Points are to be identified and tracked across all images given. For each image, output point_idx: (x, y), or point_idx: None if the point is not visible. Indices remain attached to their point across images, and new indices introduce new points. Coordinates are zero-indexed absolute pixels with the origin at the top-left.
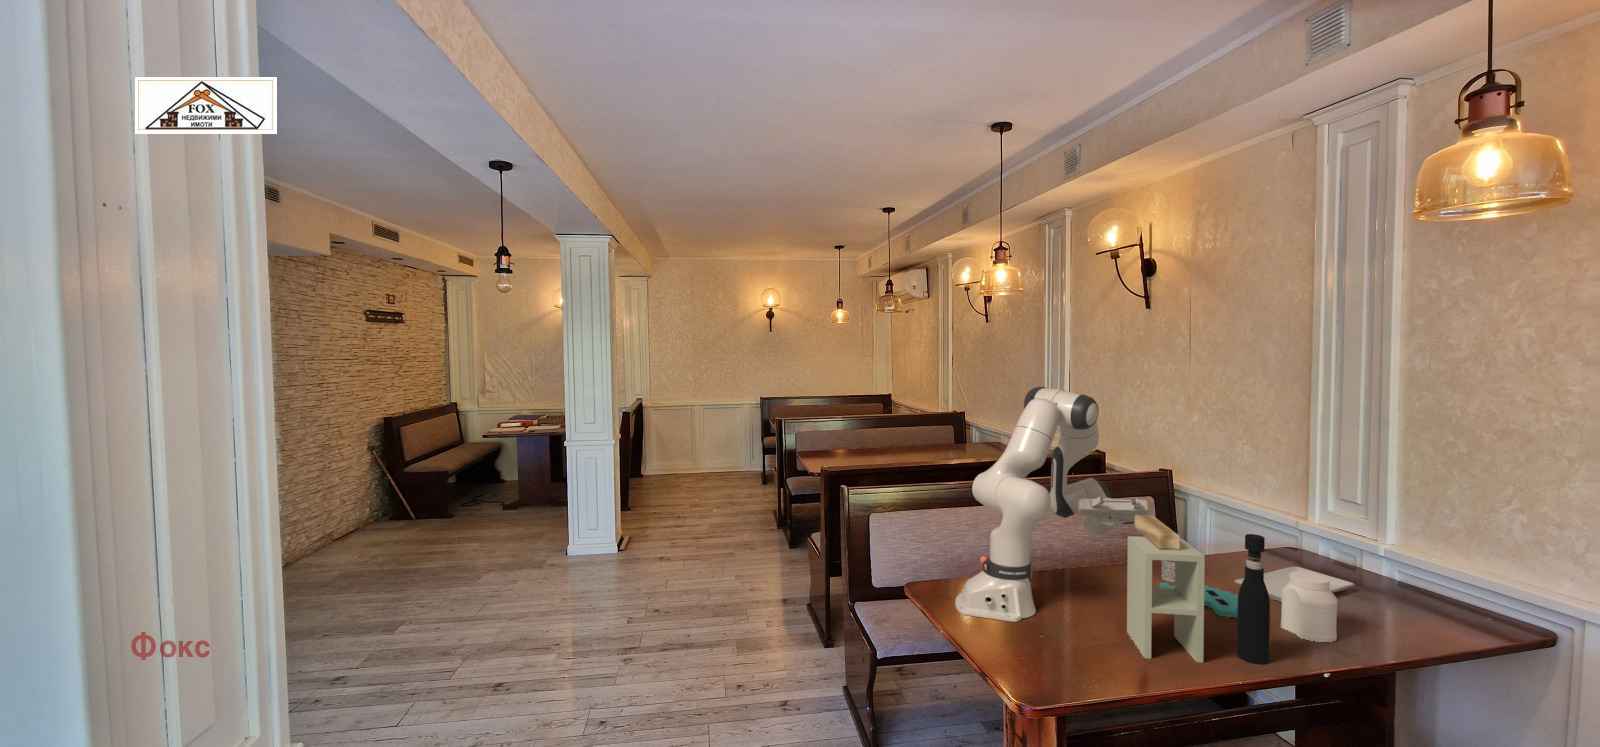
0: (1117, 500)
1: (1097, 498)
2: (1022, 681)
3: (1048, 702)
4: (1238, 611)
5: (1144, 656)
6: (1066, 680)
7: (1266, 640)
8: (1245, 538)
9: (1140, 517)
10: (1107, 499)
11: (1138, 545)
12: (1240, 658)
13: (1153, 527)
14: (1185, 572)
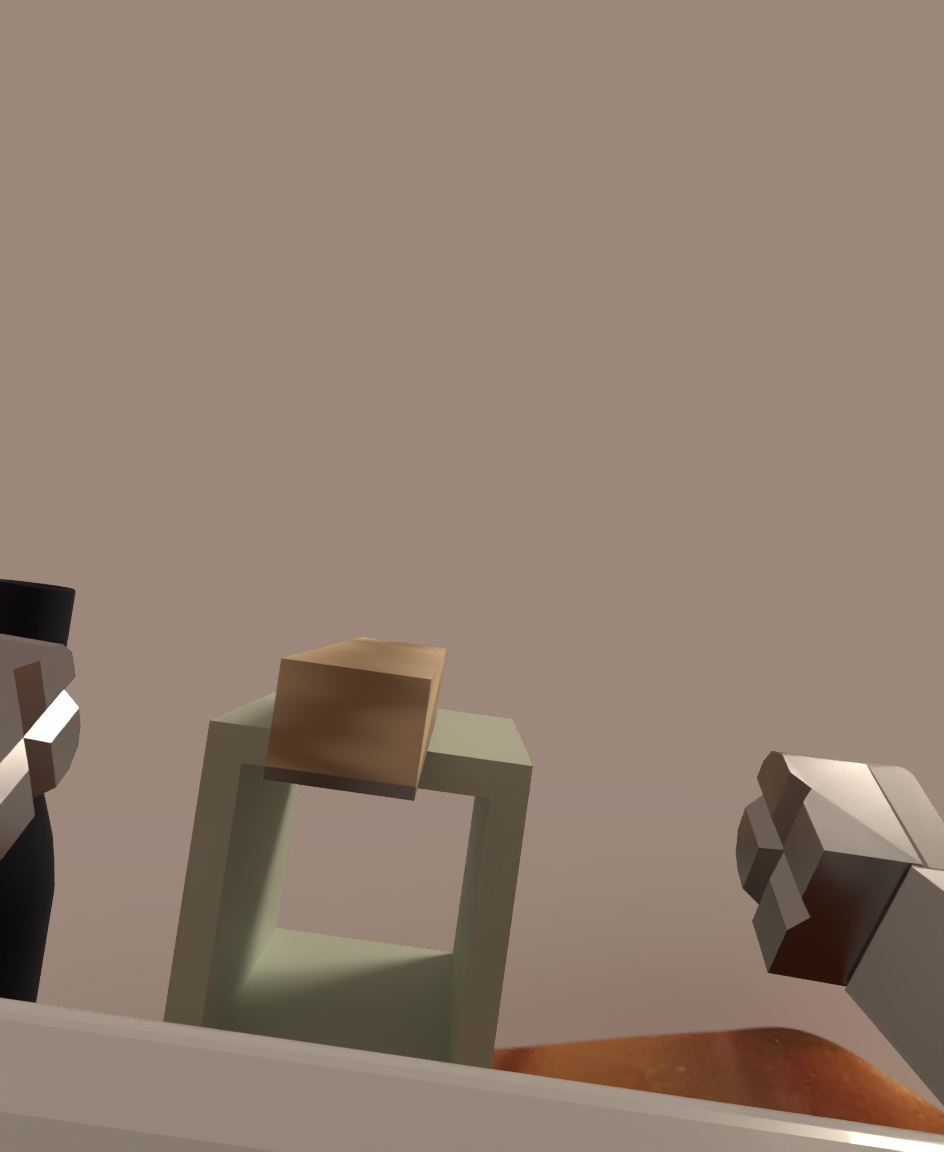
0: (153, 1038)
1: (925, 824)
2: (854, 1091)
3: (760, 1029)
4: (35, 961)
5: None
6: (733, 1089)
7: None
8: (66, 602)
9: (415, 669)
10: (624, 1090)
11: (514, 734)
12: None
13: (424, 654)
14: (264, 843)
